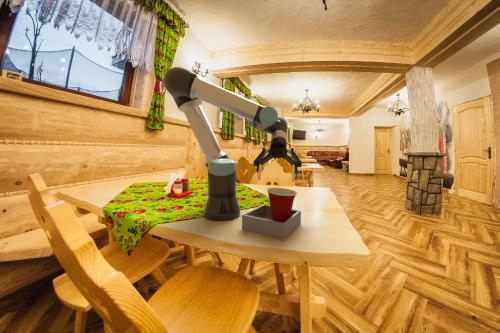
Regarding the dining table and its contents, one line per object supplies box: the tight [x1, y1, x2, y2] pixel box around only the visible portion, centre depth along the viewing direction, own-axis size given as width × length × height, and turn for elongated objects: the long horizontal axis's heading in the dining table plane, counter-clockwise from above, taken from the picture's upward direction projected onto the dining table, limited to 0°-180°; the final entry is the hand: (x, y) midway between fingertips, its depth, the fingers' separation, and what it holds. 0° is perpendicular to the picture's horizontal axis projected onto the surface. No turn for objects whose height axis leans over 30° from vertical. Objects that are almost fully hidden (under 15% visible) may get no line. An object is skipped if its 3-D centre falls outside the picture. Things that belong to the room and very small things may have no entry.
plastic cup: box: [266, 187, 298, 223], centre depth 67 cm, size 11×11×12 cm
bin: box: [241, 203, 302, 241], centre depth 67 cm, size 16×16×5 cm
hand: (275, 179), depth 74 cm, fingers open, 13 cm apart
